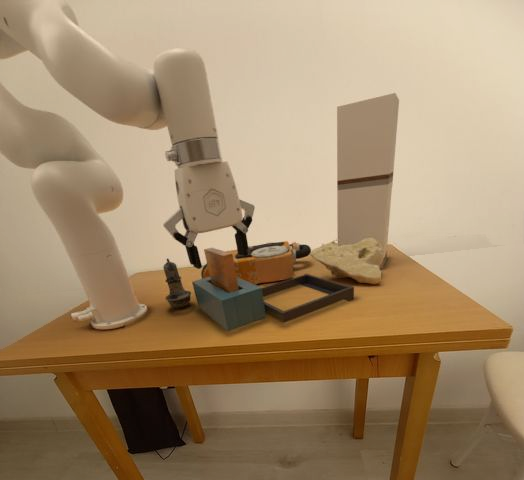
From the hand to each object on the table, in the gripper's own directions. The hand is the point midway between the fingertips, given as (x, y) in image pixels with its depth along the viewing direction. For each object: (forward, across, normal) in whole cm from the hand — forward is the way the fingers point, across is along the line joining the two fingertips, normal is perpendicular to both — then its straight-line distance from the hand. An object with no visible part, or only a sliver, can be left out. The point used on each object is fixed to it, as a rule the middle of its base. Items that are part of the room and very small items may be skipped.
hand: (221, 260), depth 57 cm
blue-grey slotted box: (+12, 0, 0) cm, 12 cm away
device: (+12, +18, +19) cm, 29 cm away
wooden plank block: (+11, 0, 0) cm, 11 cm away
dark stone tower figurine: (+11, -7, +12) cm, 18 cm away
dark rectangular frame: (+12, +14, -5) cm, 19 cm away
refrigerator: (+12, +43, +4) cm, 45 cm away
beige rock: (+12, +30, -3) cm, 32 cm away
